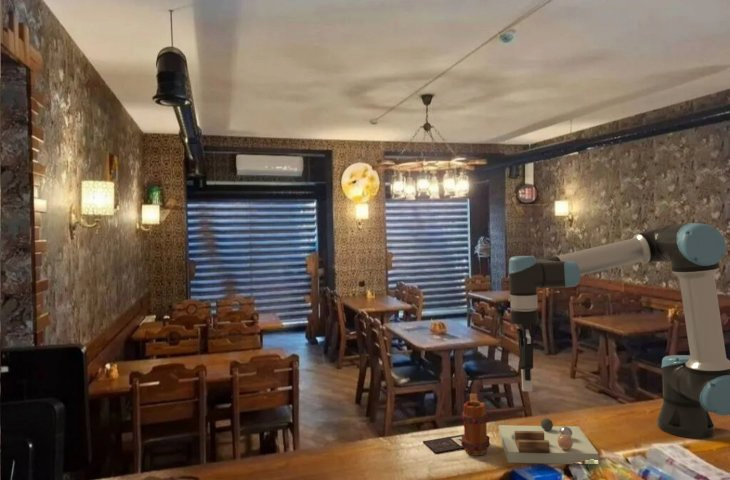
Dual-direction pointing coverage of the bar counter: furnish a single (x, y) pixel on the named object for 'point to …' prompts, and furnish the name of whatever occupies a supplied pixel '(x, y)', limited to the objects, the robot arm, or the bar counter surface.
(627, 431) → the bar counter surface
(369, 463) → the bar counter surface
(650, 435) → the bar counter surface
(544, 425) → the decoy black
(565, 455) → the board
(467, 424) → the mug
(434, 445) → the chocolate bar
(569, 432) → the ball
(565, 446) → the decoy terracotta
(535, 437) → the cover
